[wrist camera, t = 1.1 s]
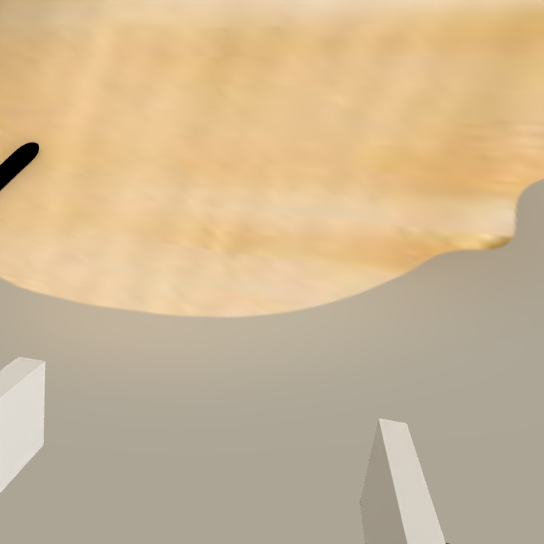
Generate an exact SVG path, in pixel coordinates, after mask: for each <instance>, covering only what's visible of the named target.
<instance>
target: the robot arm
mask: <svg viewBox="0 0 544 544" xmlns="http://www.w3.org/2000/svg"><path fill="white" fill-rule="evenodd" d="M44 387H45V361H40V360H34V359H29V358H23V357H18V358H17V359H16V360H14V361H13V362H11V363H10V364H9V365H7V366H6V367H5V368H3V369H2V370H0V492H1V491H2V490H3V489H4V488H5V487H6V486H7V484H8V483H9V482H10V481H11V480H12V479H13V478H14V477H15V476H16V475H17V473H18V472H19V471H20V470H21V469H22V468H23V467H24V466H25V465H26V464H27V462H28V461H29V460H30V459H31V458H32V457H33V456H34V455H35V454H36V452H37V451H38V450H39V449H40V448H41V447H42V446H43V440H44V434H43V433H44V389H45V388H44ZM360 506H361V514H362V522H363V530H364V538H365V544H447V543H445V541H444V537H443V534H442V531H441V528H440V525H439V522H438V519H437V516H436V513H435V510H434V507H433V503H432V500H431V498H430V494H429V491H428V488H427V485H426V482H425V479H424V476H423V473H422V470H421V467H420V464H419V460H418V457H417V454H416V451H415V448H414V446H413V442H412V439H411V436H410V433H409V430H408V427H407V424H406V423H402V422H396V421H390V420H384V419H378V424H377V428H376V432H375V437H374V441H373V446H372V451H371V455H370V459H369V464H368V468H367V473H366V477H365V482H364V486H363V490H362V495H361V500H360Z"/></svg>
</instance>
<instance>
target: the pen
mask: <svg viewBox="0 0 544 544" xmlns="http://www.w3.org/2000/svg"><path fill="white" fill-rule="evenodd" d="M38 151H39V145H38V144H37V143H34V142H31V143H27V144H25V145H23V146H21V147H20V148H18V149H17V150H16V151H15V152H14V153H13V154H12V155H10V156H9V157H8V158H7V159H6V160H5V161H4V162H3V163H2V164H1V165H0V190H1V189H2V188H3V187H4V186H6V185H7V184H8V183H9V182H10V181H11V180H12V179H13V178H14V177H15V176H16V175H17V174H18V173H19V172H20V171H21V170H22V169H23V168H24V167H25V166H26V165H28V164H29V163H30V162H31V161H32V160H33V159H34V158H35V157H36V155H37V154H38Z"/></svg>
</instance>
